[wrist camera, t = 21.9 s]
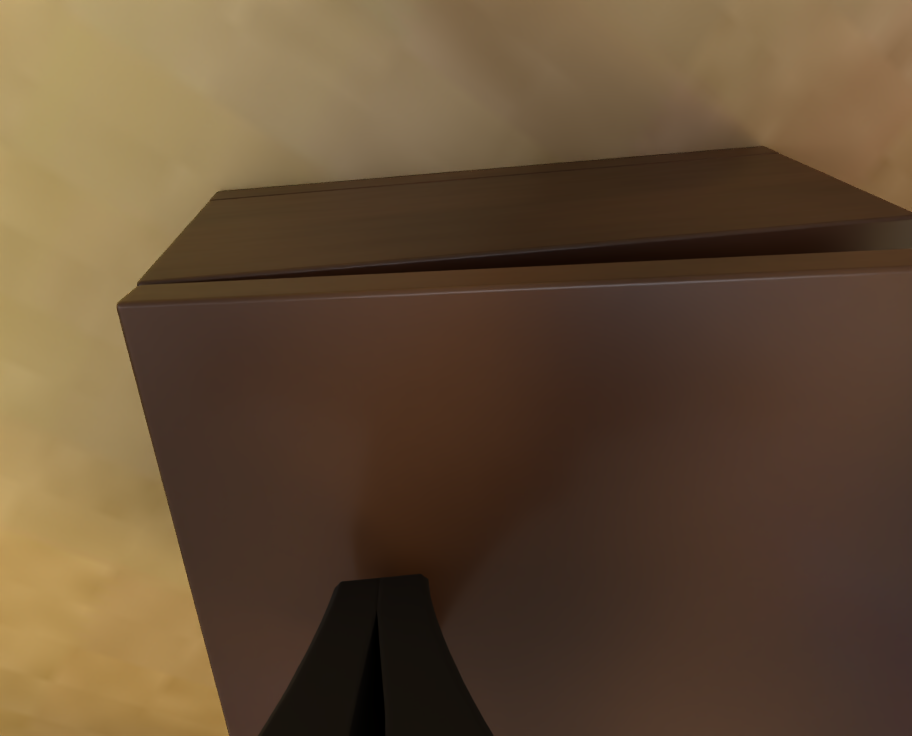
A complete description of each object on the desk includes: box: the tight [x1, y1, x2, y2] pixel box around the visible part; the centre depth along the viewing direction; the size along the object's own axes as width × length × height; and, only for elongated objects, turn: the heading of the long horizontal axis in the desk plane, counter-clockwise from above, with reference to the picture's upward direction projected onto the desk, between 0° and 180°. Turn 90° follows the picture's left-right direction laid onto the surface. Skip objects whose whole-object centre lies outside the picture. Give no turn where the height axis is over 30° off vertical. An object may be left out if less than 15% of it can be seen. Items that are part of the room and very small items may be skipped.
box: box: [137, 146, 912, 286], centre depth 17 cm, size 12×11×6 cm
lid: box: [117, 249, 912, 736], centre depth 13 cm, size 12×11×1 cm
